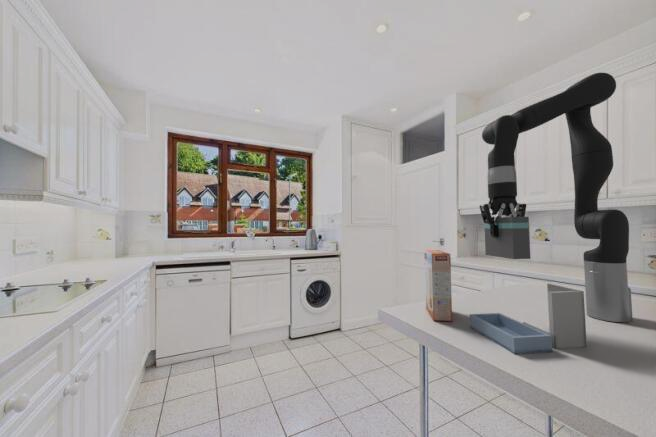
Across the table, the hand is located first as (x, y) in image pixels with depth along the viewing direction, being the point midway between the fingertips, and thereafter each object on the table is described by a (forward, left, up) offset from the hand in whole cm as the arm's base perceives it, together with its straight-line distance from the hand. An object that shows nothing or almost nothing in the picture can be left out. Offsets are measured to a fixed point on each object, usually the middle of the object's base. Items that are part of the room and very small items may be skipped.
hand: (504, 237), depth 82 cm
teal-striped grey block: (0, +1, -6) cm, 6 cm away
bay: (-1, +14, -26) cm, 29 cm away
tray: (+10, +12, -26) cm, 30 cm away
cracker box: (+18, -8, -26) cm, 32 cm away
